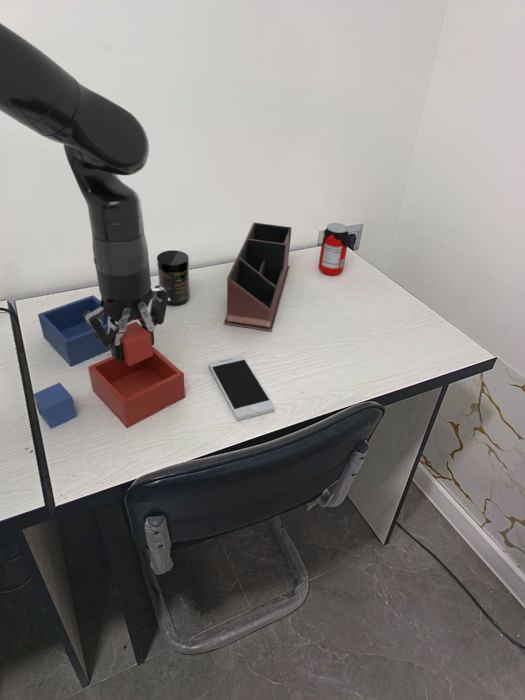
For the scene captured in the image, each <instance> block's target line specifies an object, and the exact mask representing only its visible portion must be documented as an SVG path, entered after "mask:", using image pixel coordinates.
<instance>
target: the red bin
mask: <svg viewBox="0 0 525 700" xmlns="http://www.w3.org/2000/svg"><path fill="white" fill-rule="evenodd" d="M152 350H153V356H151V357H149V358H147V359H145V360H142V361H140V362H138V363H136V364H134V365H131V366H128V365H127V364H126V363H125V362H124V361H123V362H120V361H119V360H118V361H117V360H116V359H115V358H114V357H113V356H112V355H111V356H110V357H107V358H104V359H103V360H100V361H97V362H96V363H93V364H91V365H88V366H87V369H88V375H89V379H90V383H91V388H92V391H93V392H94V394H95V395H96V396H97V397H98V398H99V399H100V400H101V401H102V402H103V404H105V406H106V407H107V408H108V409H109V410H110V411H111V412H112V413H113V414H114V415H115V417H116V418H117V419H118V420H119V421H120V422H121V423H122V425H124V426H125V428H127V429H129V428H130V427H132V426H133V425H136V424H138V423H139V422H141V421H143V420H145V419H147V418H149V417H151V416H153V415H155V414H157V413H158V412H160V411H162V410H164V409H166V408H168V407H170V406H172V405H173V404H176V403H178V402H179V401H181V400H183V399H184V398H186V390H185V387H186V386H185V373H184V372H183V371H182V370H180V369H179V368H178V367H177V366H176V365H175V364H173V362H172V361H170V360H169V359H168V358H167V357H166V356H164V355H163V354H162V353H161V352H160V351H159V350H158V349H157V348H155V347H154V345H152Z"/></svg>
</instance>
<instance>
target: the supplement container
mask: <svg viewBox="0 0 525 700" xmlns="http://www.w3.org/2000/svg"><path fill="white" fill-rule="evenodd" d="M189 260H190V258H189V255H188V253H186V252H184V251H180V250H166V251H165V250H164V251H162V252H160V253H159V254H157V256H156V263H157V265H156V266H157V274H158V285H159V286H161V287H162V288H164V289H165V290H166V291H168V292H169V297H168V302H167V306H173V307H174V306H175V307H176V306H181V305H183V304H186V303H187V302H188V301H189V299H190V298H191V297H190V295H191V293H190V291H191V290H190V261H189Z"/></svg>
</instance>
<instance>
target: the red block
mask: <svg viewBox="0 0 525 700" xmlns="http://www.w3.org/2000/svg"><path fill="white" fill-rule="evenodd" d="M122 344H123V349H124V356H125V361H124V362H125V363H126V364H127V365H128V366H131V365H134V364H136V363H138V362H140V361H142V360H145V359H147V358H149V357H151V356H153V350H152V346H153V345H152V340H151V334H150V333H149V332H148V331H147V330H146V329H144V328H143V327H142V325H141V323H140V322H138V321H134V322H130V323H127V327H126V332H124V333H123V338H122Z"/></svg>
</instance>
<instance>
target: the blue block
mask: <svg viewBox="0 0 525 700" xmlns="http://www.w3.org/2000/svg"><path fill="white" fill-rule="evenodd" d="M32 395H33V399H34V403H35V406H36V407H37V412H38V414H39V416H40V417H41V418H42V419H43V421H44V422H45V424H46V425H47V426H48V427H49V429H54V428H56V427H58V426H60V425H62V424H64V423H66V422H68V421H70V420H72V419H74V418H76V417H77V416H78V415H77V410H76V407H75V403H74V399H73V396H72V395H71V394H70V392H69V391H68V390H67V389H66V388H65V387H64V386H63V384H62V383H61V382H58V383H55V384H52V385H50V386H48V387H46V388H44V389H42V390H39V391H37V392H35V393H33V394H32Z"/></svg>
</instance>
